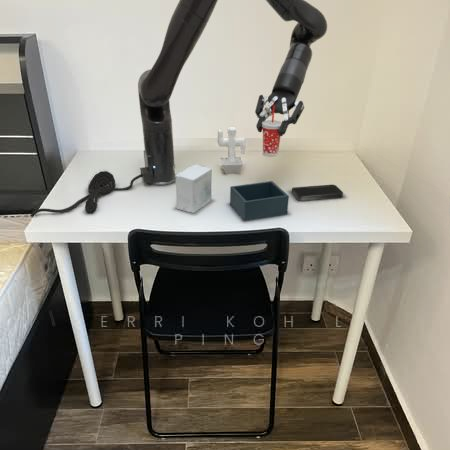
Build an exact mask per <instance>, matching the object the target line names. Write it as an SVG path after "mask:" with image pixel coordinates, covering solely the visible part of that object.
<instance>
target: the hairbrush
mask: <svg viewBox="0 0 450 450" xmlns="http://www.w3.org/2000/svg"><path fill="white" fill-rule="evenodd" d="M92 175H93V176H92V177H91V179H89V180H88V182H87V189H88V194H90V193H91V195H90V197H89V198H88V199H86V200H85V203H84V209H85V213H87V214H91V215H92V214H93V213H94V212H95V211H96V209H97V206H98V198H99V196H101V195H102V196H103V195H107V194H111V193H112V192H113V188H116V180H115V177H114V175H113V173H112V172H110V171H109V170H106V169H103V171H102V170H100V171H99V172H96V171H95V172H94V173H93V174H92ZM101 188H106V189H102V190H98V189H101ZM109 188H110V189H109ZM95 190H98V191H95Z"/></svg>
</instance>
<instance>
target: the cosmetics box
mask: <svg viewBox="0 0 450 450" xmlns="http://www.w3.org/2000/svg"><path fill="white" fill-rule="evenodd" d="M212 171H213V169H212V167H211V168H210V167H207V166H202V165H199V164H193V165H191V166H190V167H187V168H186V169H184V170H182V171H181V172H179V173H177V174H175V196H176V199H175V200H176V201H175V202H176V207H175V209H177V210H181V211H184V212H188V213H191V214H195V213H196V212H197V211H199V210H200V209H202V208H203V207H204V206H207V204H209V203H210V202H212V183H213V181H212V178H213V177H212V175H213V174H212Z"/></svg>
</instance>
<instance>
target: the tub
mask: <svg viewBox="0 0 450 450" xmlns="http://www.w3.org/2000/svg"><path fill="white" fill-rule="evenodd" d="M229 188H230V189H229V190H230V191H229V205H230V206H231V207H232V209H233V210H234V211H235V212H236V213H237V215H238V216H239V217H240V218H241V220H242V221H244V222H247V221H254V220H260V219H267V218H272V217H280V216H285V215H288V209H289V200H290V199H289V198H290V195H289V194H288V193H287V192H286V191H284V190H283V189H282V188H281V187H279V186H278V185H277V183H275V182H274V181H273V180H269V181H262V182H254V183H247V184H240V185H239V184H238V185H232V186H230V187H229Z"/></svg>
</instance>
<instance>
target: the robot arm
mask: <svg viewBox="0 0 450 450" xmlns="http://www.w3.org/2000/svg"><path fill="white" fill-rule="evenodd" d="M218 1H219V0H179V1H178V3H177V5H176V7H175V9H174V11H173V13H172V15H171V17H170V20H169V23H168V25H167V29H166V32H165V35H164V40H163V43H162V46H161V50H160V51H159V54H158V56H157V59H155V62H154V64H153V65H152V67H151V68H149V69H146V70H145V71H143V72H142V73H141V74H140V76H139V78H138V81H137V93H138V99H139V100H138V101H139V113H140V119H141V125H142V136H143V144H144V145H143V147H144V150H143V160H144V167H143V166H142V167H139V171H140V174H138V175H136V176H134V177H133V178H132V179H131V180H130V182H129V185H128V186H126V187H121V188H120V187H115V188H113V191H115V192H116V191H120V192H121V191H128V190H130V189H131V188H133V185H134V182H135V181H136V180H138V179H140V178H141V179H142V181H143V182H144V183H147V182H148V184H149V185H155V186H166V185H170V184H172V183H175V182H176V171H175V170H176V164H175V153H174V136H173V134H174V133H173V119H172V113H171V107H170V106H171V104H170V100H171V97H172V94H173V92H174V89H175V86H176V84H177V82H178V79H179V77H180V75H181V72H182V70H183V68H184V66H185V64H186V63H187V61H188V59H189V58H190V55H191V54H192V52H193V51H194V49H195V48H196V45H197V43H198V42H199V39H200V38H201V36H202V34H203V33H204V31H205V29H206V27H207V25H208V23H209V21H210V18H211V17H212V14H213V13H214V11H215V8H216V5H217V3H218ZM265 2H266V3H267V4H268V5H269V6H270V7H271V8H272V9H273V11H274V12H275V13H276V14H277V15H278V16H279V17H280V19H282V21H284V22H285V23H288V22H292V21H293V22H296V24H295V26H294V28H293V30H292V32H291V35H290V41H289V49H288V52H287V54H286V57H285V59H284V61H283V63H282V65H281V67H280V69H279V72H278V73H277V74H278V75H277V77H276V80H275V82H274V84H273V87H272V90H271V93H270V94H269V95H268V96H264V95H263V94H260V95H259V96H258V100H257V102H256V107H255V110H254V114H255V116H256V117H257V119H258V121H257V123H256V125H255V127H256V130H257V132H258V133H263V127H262V122H263V121H267V120H268V119H269V118H270V117H272V112H273V105H275V107H274V114H280V115H283V120H282V121H281V122H282V123H281V126H280V129H279V131H278V134H279V136H281V137H283V136H284V135H286V132H287V130H288V128H289V125H291V124H292V125H296V124H297V123H298V121H299V119H300V117H301V115H302V113H303V111H304V109H305V105H304V102H303V101H302V100H299V101H297V99H298V97H299V94H300V92H301V89H302V86H303V84H304V82H305V79H306V75H307V71H308V68H309V66H310V63H311V61H312V58H313V51H312V48H311V45H312V44H314V43H316V42H317V41H318V40H320V39H322V38H323V37H324V36H325V35H326V34H327V31H328V22H327V19H326V17H325V15H324V14H323V13H322V12H321V10H319V9H318V8H316V7H315V6H313V5H312V4H311V3H309V2H308V1H307V0H265ZM267 103H268V104H267ZM293 108H294V110H293V112H292V114H291V115H290V111H291V110H292V109H293ZM100 188H101V189H98V190H102V189H106V188H102V187H100ZM109 189H110V188H109ZM94 190H95V189H94ZM98 190H95V191H98ZM113 191H112V192H113ZM90 195H91V193H88V194H86V195H85V196H83V197H81V198H80V199H78V200H77V201H76V202H75V203H73V204H72V205H70V206H68V207H65V208H62V209H53V208H38V209H35V210H34V211H33V212H31V214H30V215H29V216H30V217H35V215H37V214H38V213H43V212H47V213H58V214H60V213H65V212H68V211H69V212H70V211H71V210H73V209H75V208H76V207H78V206H79V205H80V204H81V203H83V202H84V201H87V200H88V198H89V197H90ZM48 313H49V315H50V316H49V317H50V320H51V321H50V322H51V324H52V327H55V326H56V323H55V317H54V315H53V311H52V310H48Z"/></svg>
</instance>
